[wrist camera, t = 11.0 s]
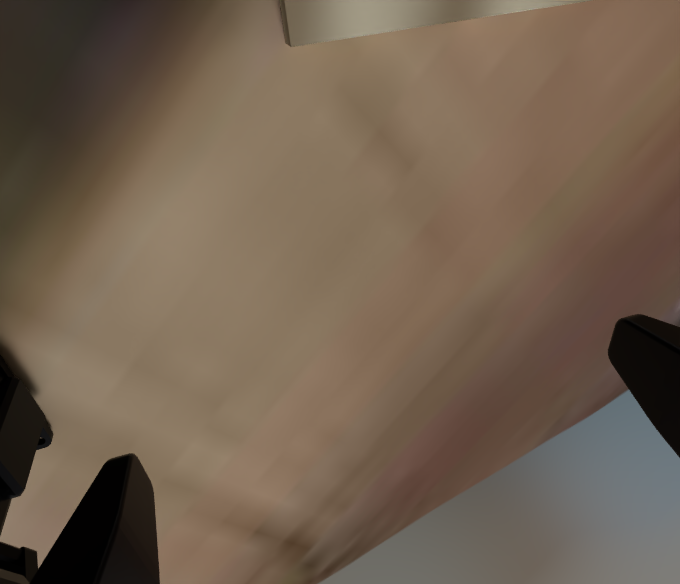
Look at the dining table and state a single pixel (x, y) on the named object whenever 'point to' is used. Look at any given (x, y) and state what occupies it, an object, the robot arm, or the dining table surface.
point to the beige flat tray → (386, 15)
